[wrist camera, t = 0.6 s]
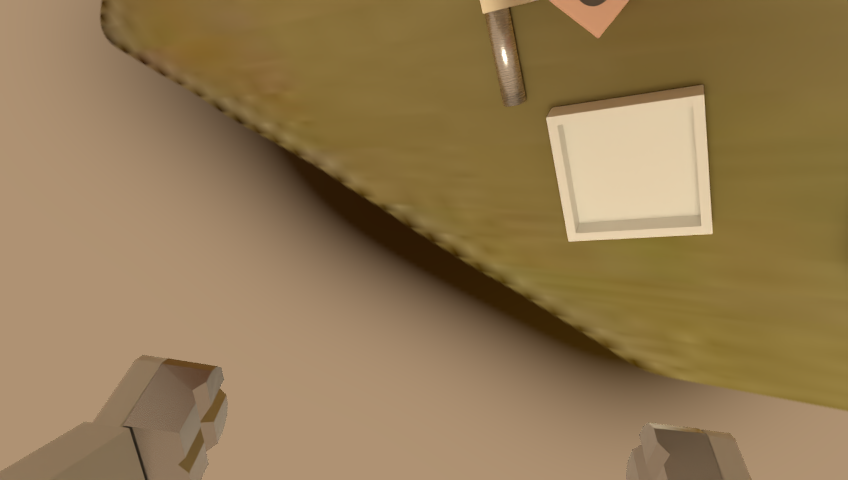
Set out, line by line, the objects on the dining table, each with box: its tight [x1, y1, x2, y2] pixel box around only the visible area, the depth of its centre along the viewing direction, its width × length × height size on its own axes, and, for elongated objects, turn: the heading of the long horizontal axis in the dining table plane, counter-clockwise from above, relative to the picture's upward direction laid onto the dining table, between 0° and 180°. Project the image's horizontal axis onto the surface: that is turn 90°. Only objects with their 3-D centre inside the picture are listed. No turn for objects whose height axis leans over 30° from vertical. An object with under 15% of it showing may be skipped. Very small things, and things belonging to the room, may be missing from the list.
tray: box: [546, 85, 713, 241], centre depth 51 cm, size 12×12×3 cm
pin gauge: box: [485, 7, 526, 106], centre depth 51 cm, size 8×2×2 cm, turn 16°
